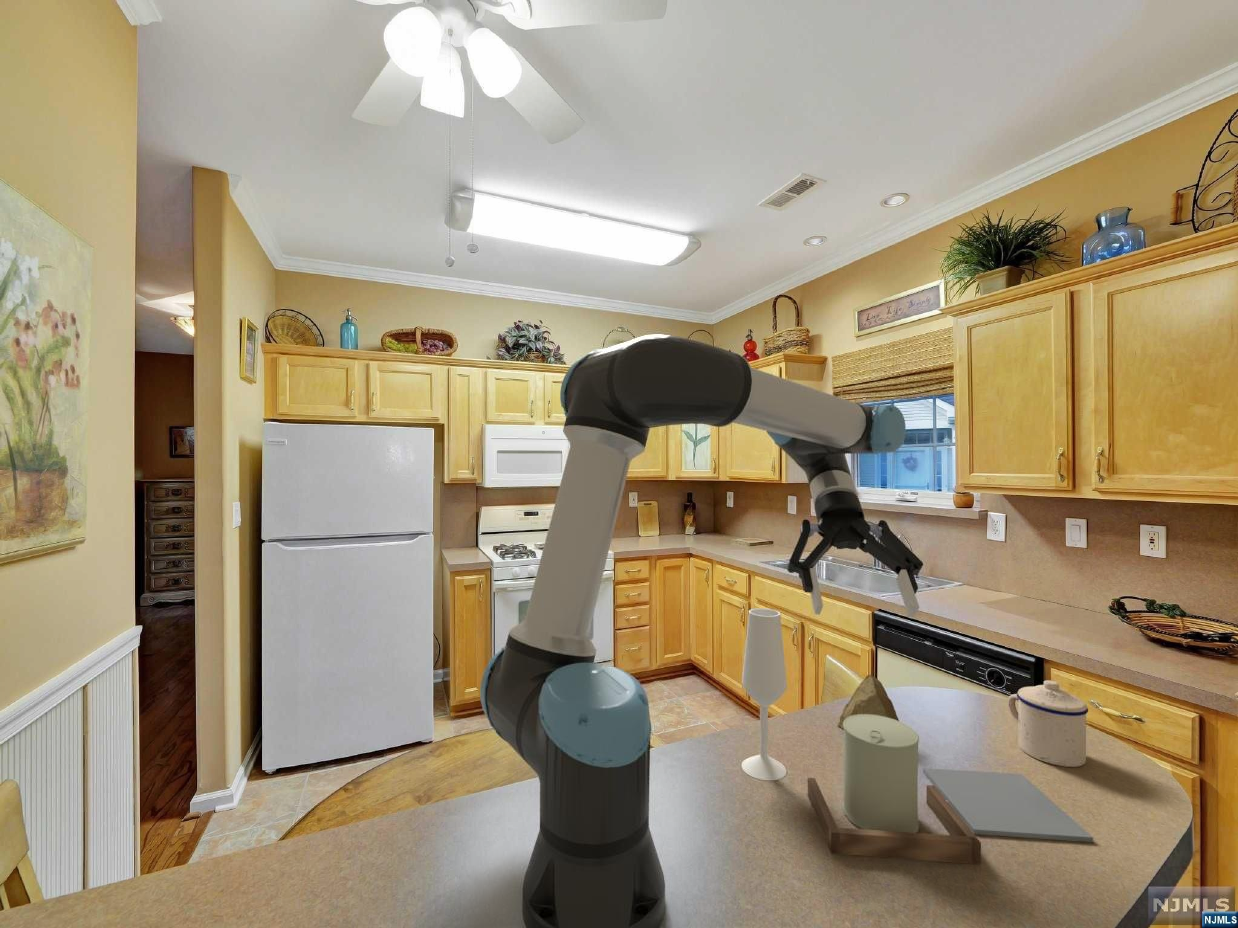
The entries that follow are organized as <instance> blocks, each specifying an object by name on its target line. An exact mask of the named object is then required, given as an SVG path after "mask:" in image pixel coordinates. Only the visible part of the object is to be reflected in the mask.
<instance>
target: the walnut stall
mask: <svg viewBox="0 0 1238 928" xmlns="http://www.w3.org/2000/svg"><path fill="white" fill-rule="evenodd" d="M807 798H808V799H809V802H810V803H809V804H810V805H811V807H812V809H813V812H814V814H815V817H816V819H817V822H818V824H819V827H820V829H821V833H822V834H823V837H824V840H825V842H826V844H827V846H828V849H829V851H830V854H836V855H837V854H840V855H851V856H863V857H876V858H877V857H878V858H891V859H903V860H904V859H905V860H916V861H917V860H918V861H932V862H946V863H957V864H959V863H960V864H970V865H971V864H973V865H981V864H982V842H981V841H980V840H979V839H978V837H977V836H976V834H973V832H972V831H971V830H970V829H969V828H968V826H967V825H966V824H965V823H964V821H963V820H962V819H961V818H960V817H959V815H958V814H957V813H956V812H955V810H954V809H953V808H952V807H951V805H950V804H949V803H948V802H947V801H946V799H945V798H944V797H943V796H942V794H941V793H940V792H939V791H938V790H937V788H936V787H935V786H934V785H933V784H926V804H927V806H928V807H929V809H930V810H931V811H932V813H933V814H934V815H935V816H936V818H937V819H938V820H939V822H940V823H941V825H942V826H943V827H944V828H945V830H946V831H947V832H948V834H937V833H923V832H922V833H920V832H917V833H910V832H895V831H881V830H867V829H861V828H849V827H838V826H837V824H836V821H835V819H834V817H833V815H832V813H831V811H830V809H829V805H828V804H827V801H826V799H825V797H824V795H823V793H822V790H821V789H820V786H819V784H818V782H817V780H816V778H815V777H807Z"/></svg>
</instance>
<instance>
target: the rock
mask: <svg viewBox="0 0 1238 928" xmlns="http://www.w3.org/2000/svg"><path fill="white" fill-rule="evenodd" d="M858 714H871V715H879V716H884V717H888V718H891V719H895V720H897V721H900V720H899V717H898V715H897V712H896V709H895V707H894V704H893V702H892V700H891V699H890V698H889V695H888V693H887V691H886V689H885V687H884V686H883V683H882V682H881V681H880V680H879V679H878V678H876V677H875V676H872V674H867V675H866V676H865V677H864V679H863V680H862V681H861V682H860V684H859V685H858V686H857V688H855V690H854V692H853V694H852V696H851V698H850V700H849V701H848V702H847V703H846V704H845V707H843V710H842V713H841V715H840V717H839V721H838V722H837V725H836V726H837V728H840V729H842V730H844V727H843V722H844V720H845V719H846V718H848V717H850V716H853V715H858Z"/></svg>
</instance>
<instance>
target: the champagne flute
mask: <svg viewBox="0 0 1238 928" xmlns="http://www.w3.org/2000/svg"><path fill="white" fill-rule="evenodd" d="M747 616H748V617H747V624H746V625H747V626H746V636H745V645H744V657H743V665H742V666H743V667H742V676H741V685H742V687H743V688H744V690H745V692H746V693H747V695H748V696H749V698H751V699H752V700H753V701H754V702H755V703H756V704H757V705H758V706H759V754H756V755H753V756H750V757H748V758H746V759H744V760H743V761H742V763H741V768H742V770H743V771H744V772H745V774H747V775H749V776H750V777H752V778H754V779H757V780H762V781H768V782H769V781H771V782H772V781H778V780H781V779H783V778H784V777H785V776H786V775H787V768H786V767H785V766H784V765H783V763H781V762H780V761H778V760H776V759H775V758H773V757H772V756H770V755H768V754H769V752H768V751H769V748H768V747H769V734H768V733H769V732H768V731H769V706H772V705H773V704H774V703H776V702H778V700H780V699H781V698H782V697H783V695H784V694H785V693H786V691H787V687H788V684H787V683H788V682H787V672H786V661H785V659H786V658H785V650H784V638H783V637H784V636H783V628H782V627H783V626H782V615H781V612H780V611H778V610H776V609H772V608H762V607H761V608H759V607H758V608H752V609H750V610H748V615H747Z"/></svg>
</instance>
